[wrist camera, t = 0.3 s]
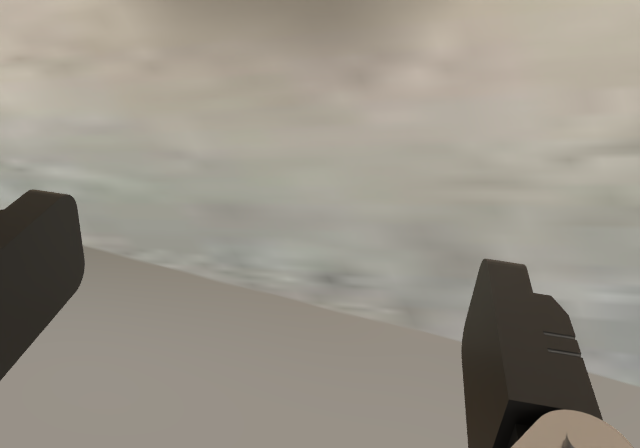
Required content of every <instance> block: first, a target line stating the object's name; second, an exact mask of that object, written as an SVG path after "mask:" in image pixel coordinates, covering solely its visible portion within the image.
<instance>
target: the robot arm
mask: <svg viewBox="0 0 640 448" xmlns="http://www.w3.org/2000/svg"><path fill="white" fill-rule="evenodd" d="M84 265H85V263H84V253H83V246H82V239H81V232H80V224H79V217H78V210H77V205H76V202H75V200H74V198H73V197H72V196H71V195H67V194H60V193H54V192H47V191H40V190H29V191H28V192H26V193H25V194H23V195H22V196H21V197H20V198H18V199H17V200H16V201H15V202H13V203H12V204H11V205H9V206H8V207H7V208H6V209H4V210H0V380H1V379H2V378H3V377H4V376H5V374H6V373H7V372H8V371H9V370H10V369H11V367H12V366H13V365H14V364H15V363H16V362H17V360H18V359H19V358H20V357H21V356H22V354H23V353H24V352H25V351H26V350H27V348H28V347H29V346H30V345H31V344H32V343H33V342H34V340H35V339H36V338H37V337H38V336H39V334H40V333H41V332H42V331H43V330H44V328H45V327H46V326H47V325H48V324H49V323H50V321H51V320H52V319H53V318H54V317H55V315H56V314H57V313H58V312H59V311H60V310H61V308H62V307H63V306H64V305H65V304H66V303H67V301H68V300H69V299H70V298H71V297H72V295H73V294H74V293H75V292H76V291H77V289H78V287H79V286H80V283H81V280H82V278H83V274H84ZM462 368H463V381H464V395H465V408H466V422H467V435H468V448H633V447H632V445H631V444H630V443H629V441H628V440H627V439H626V438H625V437H624V436H623V435H622V434H621V433H620V432H618V431H617V430H616V429H615V428H613V427H612V426H611V425H609V424H607V423H606V422H604V421H603V419H602V416H601V413H600V410H599V407H598V404H597V401H596V398H595V395H594V392H593V389H592V385H591V382H590V379H589V376H588V373H587V370H586V367H585V364H584V361H583V358H581V352H580V349H579V346H578V342H577V340H575V333H574V330H573V327H572V324H571V321H570V318H569V315H568V314H567V313H566V312H565V311H564V310H563V309H562V307H561V306H560V305H559V304H558V303H557V302H556V301H555V300H554V298H553V297H552V296H549V295H543V294H537V293H533V291H532V287H531V283H530V279H529V275H528V271H527V268H526V266H525V265H524V264H517V263H511V262H504V261H497V260H491V259H484V260H483V261H482V263H481V266H480V269H479V272H478V276H477V280H476V284H475V287H474V291H473V295H472V299H471V303H470V306H469V310H468V314H467V318H466V322H465V326H464V332H463V339H462Z"/></svg>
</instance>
